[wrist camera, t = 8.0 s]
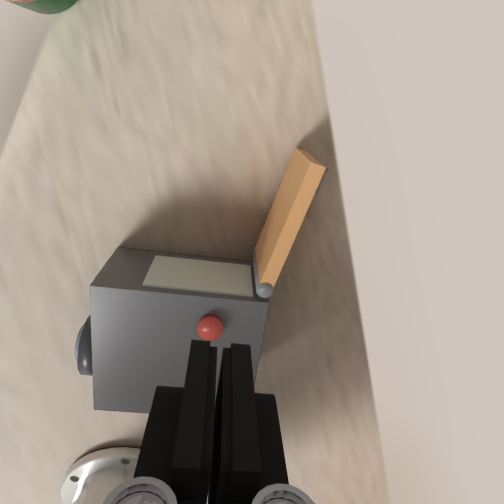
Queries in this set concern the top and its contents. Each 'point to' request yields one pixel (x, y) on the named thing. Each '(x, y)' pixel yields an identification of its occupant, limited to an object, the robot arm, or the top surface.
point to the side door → (285, 218)
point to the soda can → (45, 5)
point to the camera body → (163, 322)
